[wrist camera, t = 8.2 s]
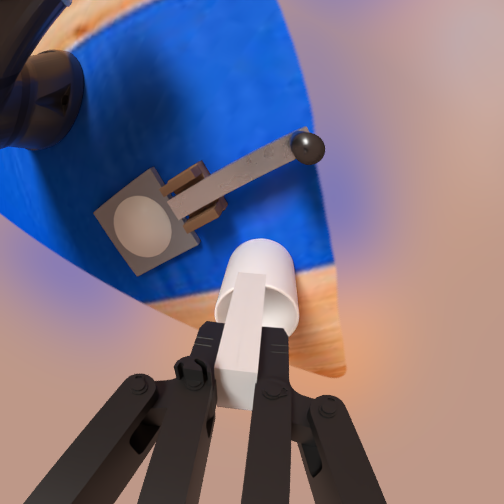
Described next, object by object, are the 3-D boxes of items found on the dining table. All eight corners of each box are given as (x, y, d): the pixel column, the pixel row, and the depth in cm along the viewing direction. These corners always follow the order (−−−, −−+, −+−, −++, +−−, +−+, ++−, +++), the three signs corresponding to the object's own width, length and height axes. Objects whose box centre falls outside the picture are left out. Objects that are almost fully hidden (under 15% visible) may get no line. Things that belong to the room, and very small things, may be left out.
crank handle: (172, 196, 29) (142, 222, 22) (304, 126, 25) (316, 127, 18) (183, 214, 30) (158, 244, 23) (314, 147, 26) (330, 156, 19)
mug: (256, 318, 39) (250, 373, 30) (205, 291, 38) (187, 344, 28) (306, 257, 34) (316, 309, 25) (250, 223, 33) (241, 267, 23)
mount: (174, 177, 30) (157, 187, 26) (201, 160, 29) (189, 167, 25) (199, 218, 33) (188, 235, 28) (227, 203, 32) (220, 218, 27)
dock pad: (97, 209, 33) (92, 213, 32) (154, 166, 30) (149, 168, 29) (140, 272, 37) (136, 277, 36) (200, 240, 34) (198, 245, 33)
